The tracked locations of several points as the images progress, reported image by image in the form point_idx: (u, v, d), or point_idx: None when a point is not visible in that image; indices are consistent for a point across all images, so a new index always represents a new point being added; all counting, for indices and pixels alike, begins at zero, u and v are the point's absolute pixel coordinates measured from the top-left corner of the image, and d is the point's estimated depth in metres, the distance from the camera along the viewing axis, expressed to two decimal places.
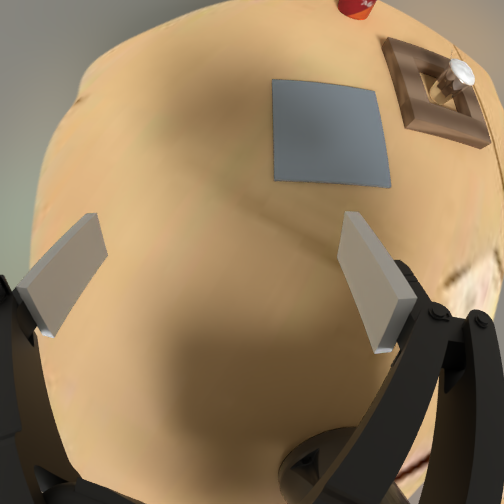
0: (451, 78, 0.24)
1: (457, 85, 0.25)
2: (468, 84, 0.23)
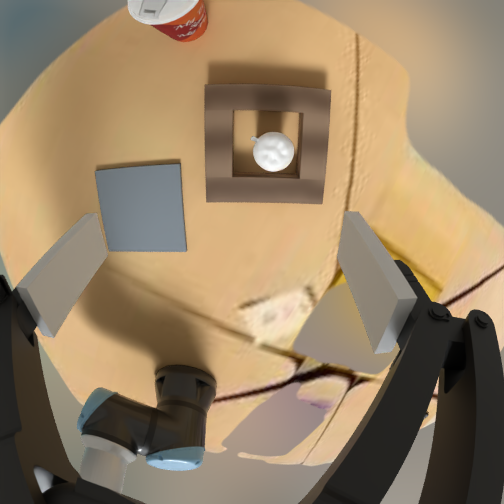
0: None
1: None
2: (274, 171, 0.31)
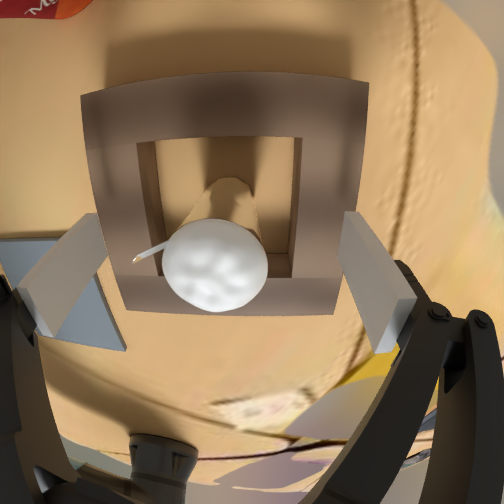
0: None
1: None
2: None
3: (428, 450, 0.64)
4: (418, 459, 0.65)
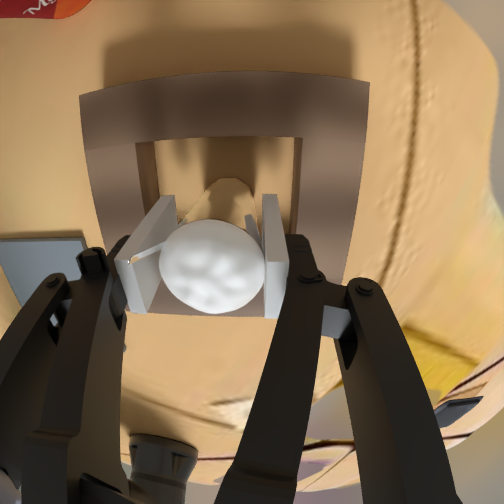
0: None
1: None
2: None
3: None
4: None
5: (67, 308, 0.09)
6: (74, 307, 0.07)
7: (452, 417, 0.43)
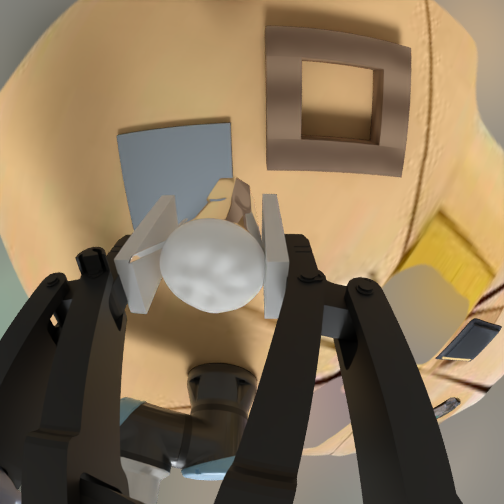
0: None
1: None
2: None
3: (454, 399, 0.72)
4: (445, 409, 0.74)
5: (67, 308, 0.09)
6: (74, 307, 0.07)
7: (478, 344, 0.51)
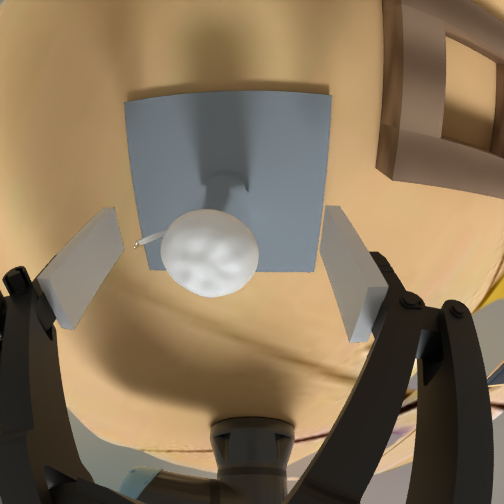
0: None
1: None
2: None
3: None
4: None
5: (2, 322, 0.07)
6: (9, 324, 0.06)
7: None
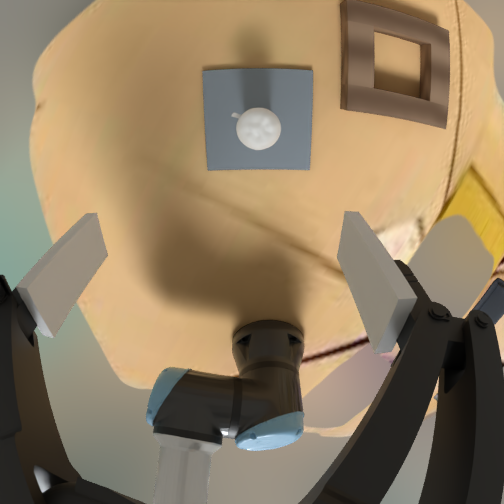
0: None
1: None
2: (259, 149, 0.28)
3: None
4: None
5: None
6: None
7: (500, 306, 0.53)
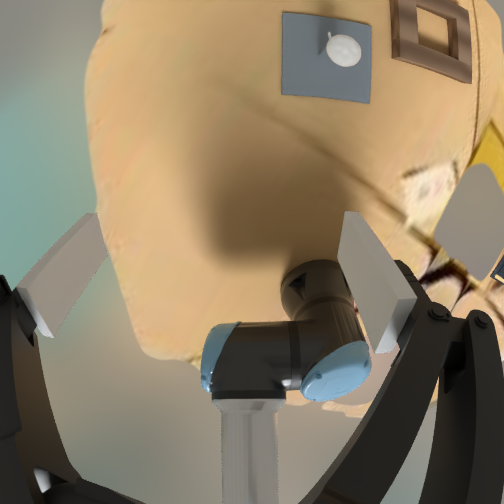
0: (327, 57, 0.28)
1: (334, 63, 0.29)
2: (344, 66, 0.27)
3: None
4: None
5: None
6: None
7: None
